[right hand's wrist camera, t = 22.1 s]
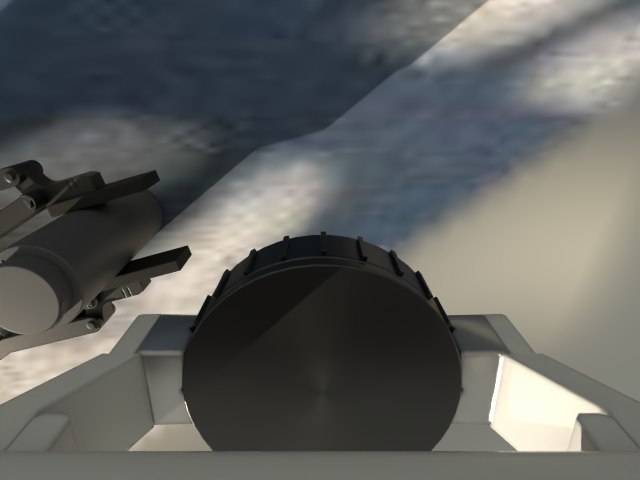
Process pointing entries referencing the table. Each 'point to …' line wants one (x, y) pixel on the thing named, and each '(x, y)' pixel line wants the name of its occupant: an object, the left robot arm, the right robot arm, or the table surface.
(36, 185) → the left robot arm
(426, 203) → the table surface
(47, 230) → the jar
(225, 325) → the lid
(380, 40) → the table surface
